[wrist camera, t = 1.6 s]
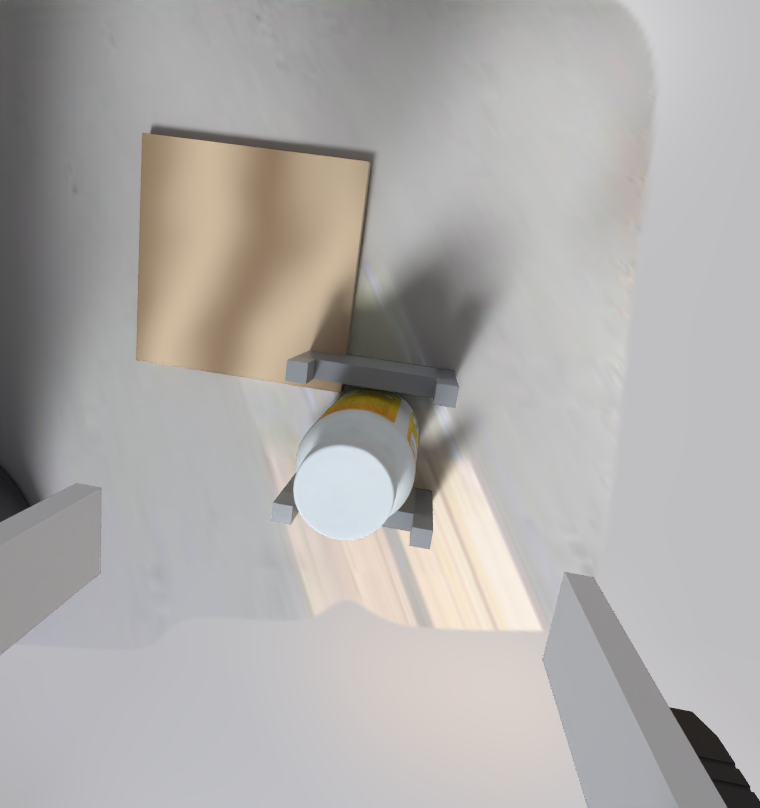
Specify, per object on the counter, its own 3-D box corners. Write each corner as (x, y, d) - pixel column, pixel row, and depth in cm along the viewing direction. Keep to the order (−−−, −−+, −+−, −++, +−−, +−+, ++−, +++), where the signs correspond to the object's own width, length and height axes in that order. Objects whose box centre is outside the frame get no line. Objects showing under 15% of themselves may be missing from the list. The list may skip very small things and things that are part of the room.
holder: (297, 483, 29) (271, 521, 24) (312, 349, 27) (287, 359, 22) (429, 506, 29) (429, 549, 24) (453, 370, 27) (459, 386, 22)
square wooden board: (142, 358, 28) (136, 360, 28) (148, 136, 26) (142, 132, 25) (342, 390, 28) (340, 392, 27) (371, 164, 25) (369, 161, 24)
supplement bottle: (438, 437, 28) (442, 507, 18) (366, 490, 29) (337, 583, 19) (377, 364, 27) (351, 399, 18) (307, 422, 28) (248, 483, 19)
